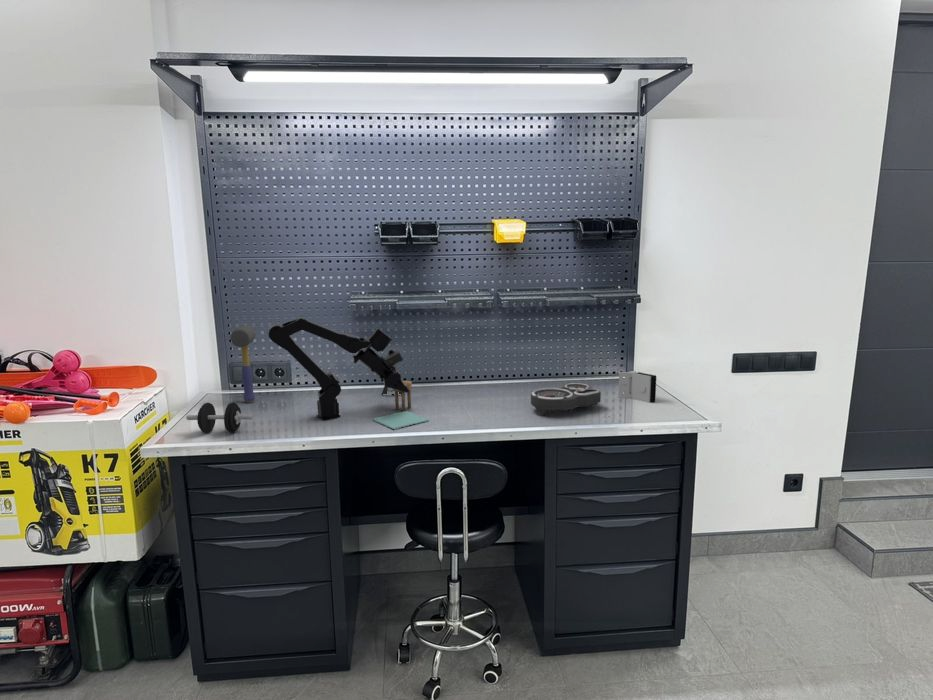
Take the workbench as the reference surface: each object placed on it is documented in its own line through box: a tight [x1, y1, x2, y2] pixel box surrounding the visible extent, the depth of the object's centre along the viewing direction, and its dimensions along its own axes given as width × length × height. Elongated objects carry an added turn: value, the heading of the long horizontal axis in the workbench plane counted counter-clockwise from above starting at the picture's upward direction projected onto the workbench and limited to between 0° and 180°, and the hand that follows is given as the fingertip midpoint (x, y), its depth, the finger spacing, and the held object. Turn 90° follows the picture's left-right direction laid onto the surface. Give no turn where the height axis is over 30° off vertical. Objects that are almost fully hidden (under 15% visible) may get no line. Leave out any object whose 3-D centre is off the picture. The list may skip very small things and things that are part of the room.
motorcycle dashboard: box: [530, 382, 602, 417], centre depth 204 cm, size 26×16×7 cm, turn 121°
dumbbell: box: [185, 401, 254, 434], centre depth 186 cm, size 22×10×10 cm, turn 88°
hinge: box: [617, 370, 657, 404], centre depth 216 cm, size 14×5×10 cm, turn 51°
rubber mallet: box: [230, 324, 257, 404], centre depth 219 cm, size 12×8×30 cm, turn 8°
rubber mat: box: [372, 410, 430, 430], centre depth 195 cm, size 14×14×1 cm
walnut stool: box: [392, 380, 413, 412], centre depth 207 cm, size 7×7×10 cm
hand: (405, 388), depth 207 cm, fingers open, 9 cm apart
